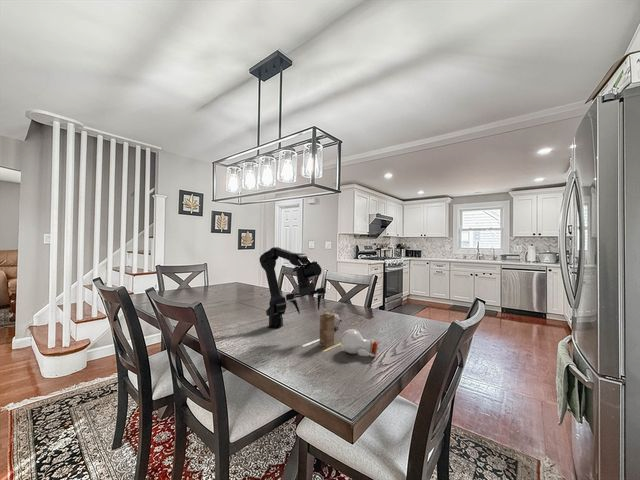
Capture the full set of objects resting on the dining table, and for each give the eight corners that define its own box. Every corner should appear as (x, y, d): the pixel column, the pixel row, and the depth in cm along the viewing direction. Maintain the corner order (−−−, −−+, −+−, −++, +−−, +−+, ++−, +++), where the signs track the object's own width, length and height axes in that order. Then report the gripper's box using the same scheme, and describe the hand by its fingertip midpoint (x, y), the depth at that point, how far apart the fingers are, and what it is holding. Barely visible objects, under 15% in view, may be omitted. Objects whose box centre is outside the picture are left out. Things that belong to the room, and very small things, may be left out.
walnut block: (319, 344, 119) (319, 313, 119) (326, 341, 122) (326, 311, 122) (327, 347, 116) (327, 315, 116) (334, 344, 119) (334, 313, 119)
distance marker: (324, 351, 111) (324, 351, 111) (322, 351, 111) (322, 351, 111) (344, 342, 121) (344, 342, 121) (342, 342, 122) (342, 341, 122)
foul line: (304, 346, 116) (304, 346, 116) (301, 345, 117) (301, 345, 117) (331, 336, 129) (331, 336, 129) (328, 335, 130) (328, 335, 130)
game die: (335, 334, 143) (346, 318, 145) (335, 333, 135) (346, 316, 137) (321, 324, 145) (332, 308, 148) (320, 323, 137) (331, 306, 140)
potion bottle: (339, 352, 114) (375, 363, 108) (334, 345, 106) (372, 357, 100) (345, 331, 118) (380, 340, 112) (341, 323, 111) (378, 332, 105)
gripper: (282, 282, 121) (288, 317, 118) (322, 274, 122) (329, 309, 120) (284, 283, 132) (290, 315, 129) (322, 276, 133) (328, 308, 130)
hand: (309, 312), depth 127 cm, fingers open, 9 cm apart
